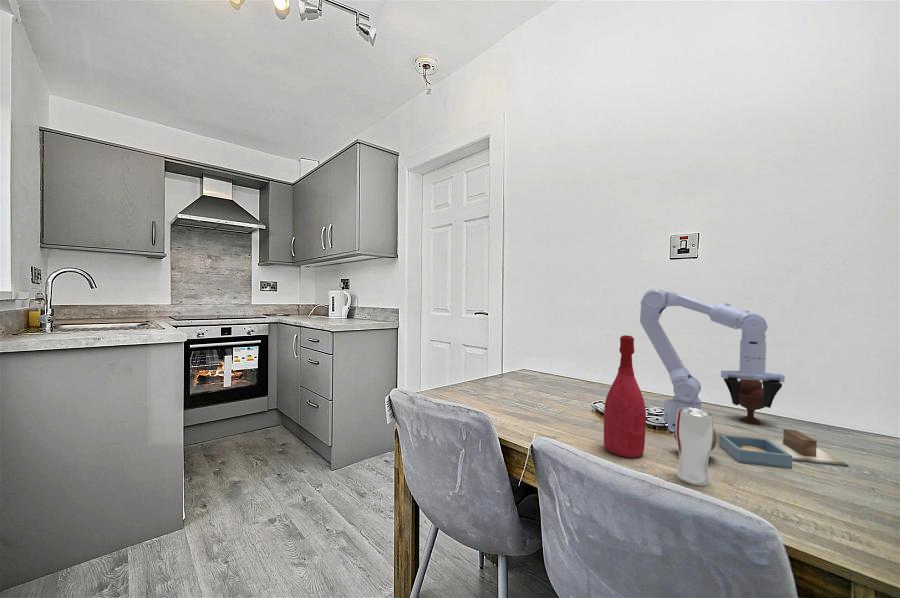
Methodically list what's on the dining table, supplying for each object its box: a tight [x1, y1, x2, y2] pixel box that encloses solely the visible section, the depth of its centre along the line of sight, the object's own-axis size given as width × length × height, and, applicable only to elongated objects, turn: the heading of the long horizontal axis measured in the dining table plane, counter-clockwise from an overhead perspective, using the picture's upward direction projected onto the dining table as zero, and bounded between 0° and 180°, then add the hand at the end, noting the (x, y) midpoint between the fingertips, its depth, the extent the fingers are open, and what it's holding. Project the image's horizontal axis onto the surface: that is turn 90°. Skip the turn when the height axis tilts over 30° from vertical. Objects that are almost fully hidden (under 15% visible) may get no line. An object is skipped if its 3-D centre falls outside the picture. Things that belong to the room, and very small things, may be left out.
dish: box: [718, 434, 793, 469], centre depth 98 cm, size 11×11×3 cm
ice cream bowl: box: [738, 377, 766, 425], centre depth 127 cm, size 11×11×15 cm
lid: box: [767, 428, 845, 465], centre depth 101 cm, size 12×12×4 cm
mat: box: [792, 448, 850, 468], centre depth 101 cm, size 14×12×1 cm
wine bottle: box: [603, 334, 647, 458], centre depth 99 cm, size 10×10×30 cm
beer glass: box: [676, 407, 715, 487], centre depth 85 cm, size 7×7×15 cm
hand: (751, 405), depth 108 cm, fingers open, 7 cm apart
